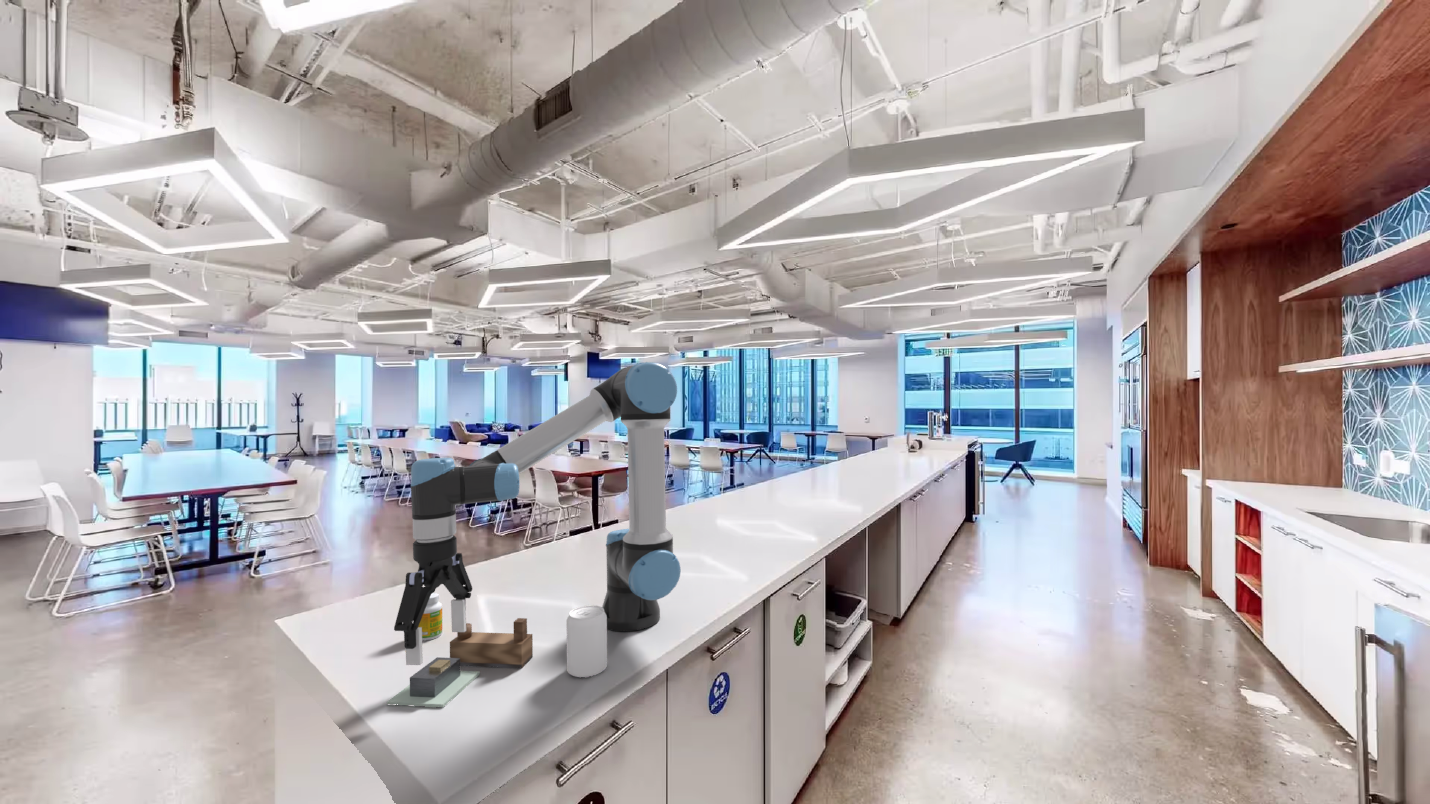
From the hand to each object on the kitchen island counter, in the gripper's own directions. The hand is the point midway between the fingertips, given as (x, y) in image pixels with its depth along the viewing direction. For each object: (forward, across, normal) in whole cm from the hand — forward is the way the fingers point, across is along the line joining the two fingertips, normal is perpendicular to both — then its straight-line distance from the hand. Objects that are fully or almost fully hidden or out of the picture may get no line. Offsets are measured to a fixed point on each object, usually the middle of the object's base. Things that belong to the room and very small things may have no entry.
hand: (438, 646), depth 101 cm
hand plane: (+8, -11, +4) cm, 15 cm away
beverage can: (+9, -9, +26) cm, 29 cm away
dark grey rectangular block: (+7, 0, 0) cm, 7 cm away
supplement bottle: (+8, -22, -18) cm, 29 cm away
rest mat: (+8, 0, 0) cm, 8 cm away
